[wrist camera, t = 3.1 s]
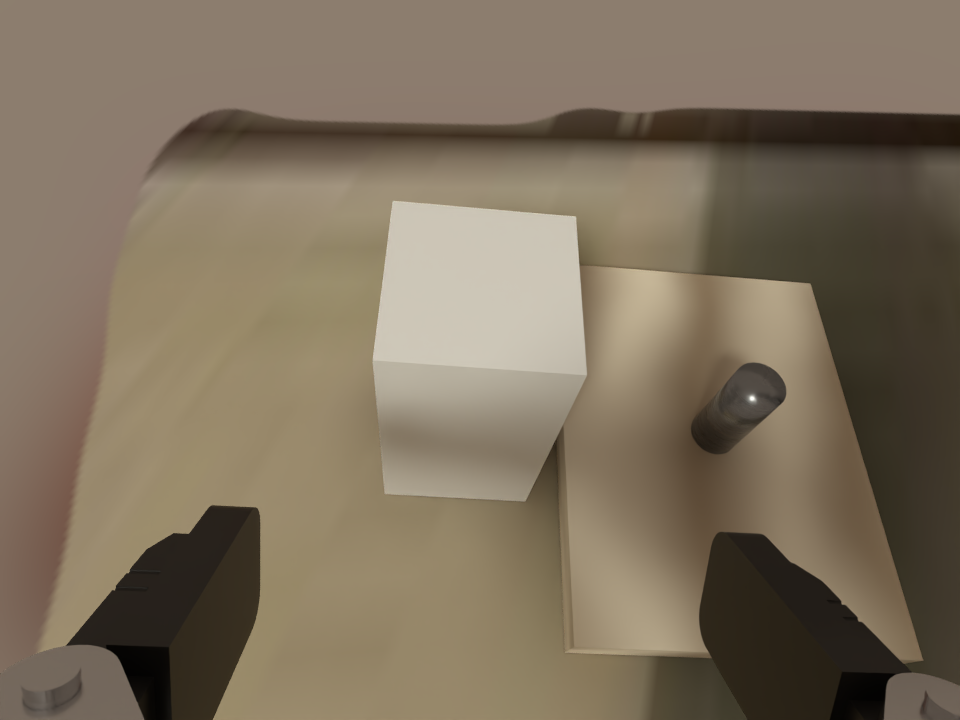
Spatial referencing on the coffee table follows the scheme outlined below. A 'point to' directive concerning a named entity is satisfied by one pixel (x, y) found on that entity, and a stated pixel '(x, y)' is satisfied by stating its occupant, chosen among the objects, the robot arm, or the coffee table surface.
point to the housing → (475, 348)
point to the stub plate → (708, 460)
